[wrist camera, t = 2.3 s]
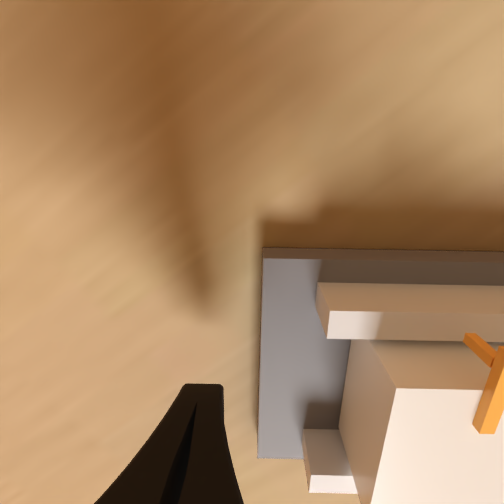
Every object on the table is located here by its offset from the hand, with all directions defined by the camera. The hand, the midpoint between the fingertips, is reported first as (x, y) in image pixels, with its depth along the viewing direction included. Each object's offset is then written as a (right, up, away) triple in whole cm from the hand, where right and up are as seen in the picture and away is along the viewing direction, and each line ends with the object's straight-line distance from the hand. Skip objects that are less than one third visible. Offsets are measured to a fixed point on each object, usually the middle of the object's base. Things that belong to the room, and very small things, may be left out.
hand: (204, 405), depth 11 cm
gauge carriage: (+9, +1, +1) cm, 10 cm away
